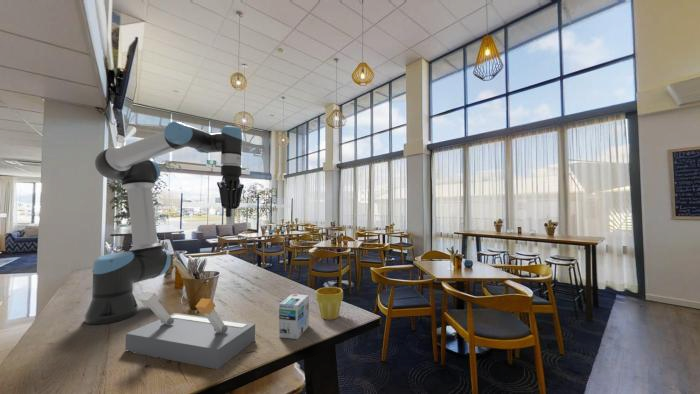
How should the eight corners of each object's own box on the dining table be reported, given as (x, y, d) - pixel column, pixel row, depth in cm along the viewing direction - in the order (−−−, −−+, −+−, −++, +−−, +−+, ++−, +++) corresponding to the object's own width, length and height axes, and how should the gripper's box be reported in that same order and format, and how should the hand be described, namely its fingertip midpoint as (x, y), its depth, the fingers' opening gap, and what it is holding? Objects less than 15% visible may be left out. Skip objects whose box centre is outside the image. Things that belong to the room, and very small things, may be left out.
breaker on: (161, 325, 85) (138, 299, 79) (168, 318, 87) (146, 291, 81) (169, 326, 84) (147, 300, 78) (175, 319, 86) (154, 292, 80)
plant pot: (310, 317, 104) (310, 291, 104) (328, 309, 112) (328, 285, 112) (330, 324, 97) (331, 296, 98) (348, 315, 106) (348, 289, 106)
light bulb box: (297, 340, 86) (298, 305, 86) (277, 337, 87) (278, 303, 88) (309, 325, 97) (309, 294, 97) (291, 323, 98) (291, 293, 98)
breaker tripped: (214, 333, 80) (195, 306, 73) (220, 325, 82) (201, 298, 75) (224, 335, 79) (205, 307, 72) (229, 326, 81) (211, 299, 74)
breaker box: (125, 351, 79) (125, 332, 79) (174, 327, 95) (174, 312, 95) (217, 369, 70) (217, 348, 71) (255, 340, 86) (255, 323, 86)
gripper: (227, 163, 102) (226, 226, 101) (249, 167, 115) (248, 224, 114) (211, 163, 104) (210, 226, 103) (234, 168, 117) (233, 223, 116)
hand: (230, 225), depth 109 cm, fingers closed
